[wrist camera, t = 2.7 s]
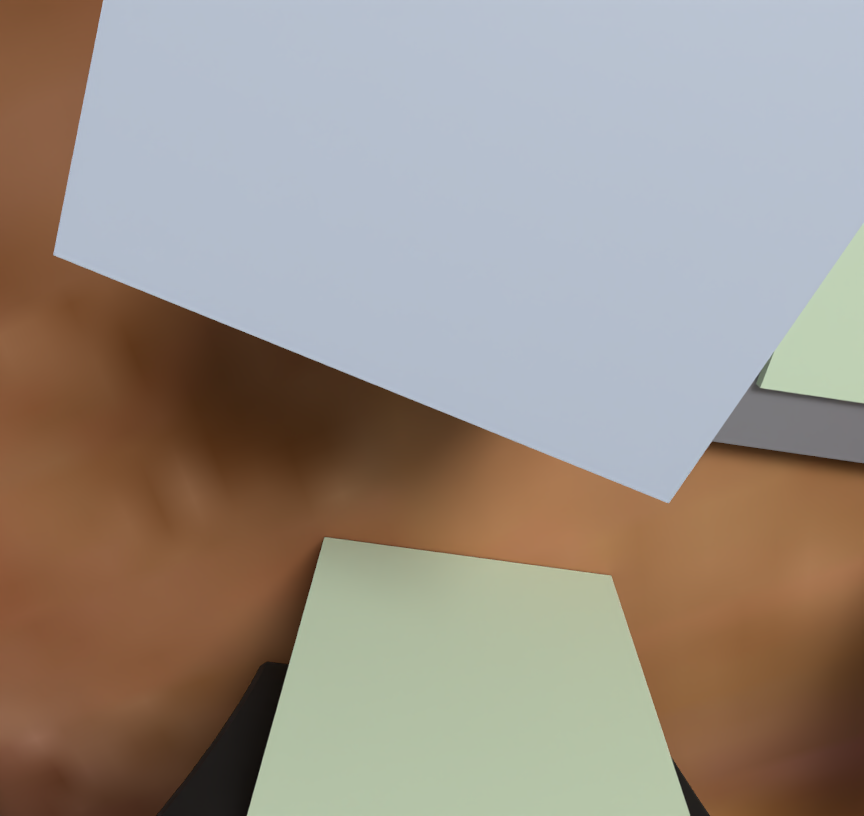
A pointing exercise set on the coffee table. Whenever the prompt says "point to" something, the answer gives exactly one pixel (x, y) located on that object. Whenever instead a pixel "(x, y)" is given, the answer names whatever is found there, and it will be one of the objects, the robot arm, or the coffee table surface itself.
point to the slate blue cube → (487, 197)
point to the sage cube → (462, 695)
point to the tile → (813, 375)
